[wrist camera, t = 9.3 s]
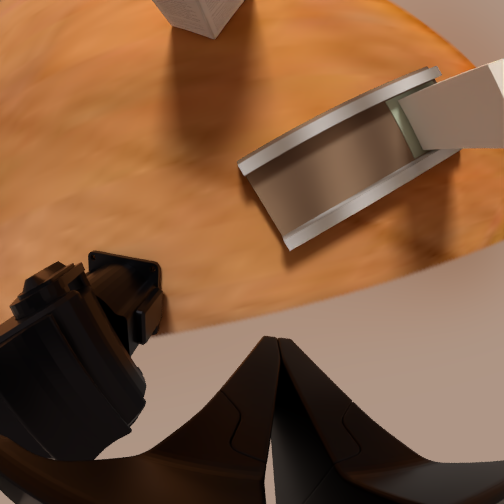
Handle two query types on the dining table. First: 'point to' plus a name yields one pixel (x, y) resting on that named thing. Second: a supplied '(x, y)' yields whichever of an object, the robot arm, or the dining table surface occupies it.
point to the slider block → (460, 110)
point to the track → (341, 160)
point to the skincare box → (199, 14)
